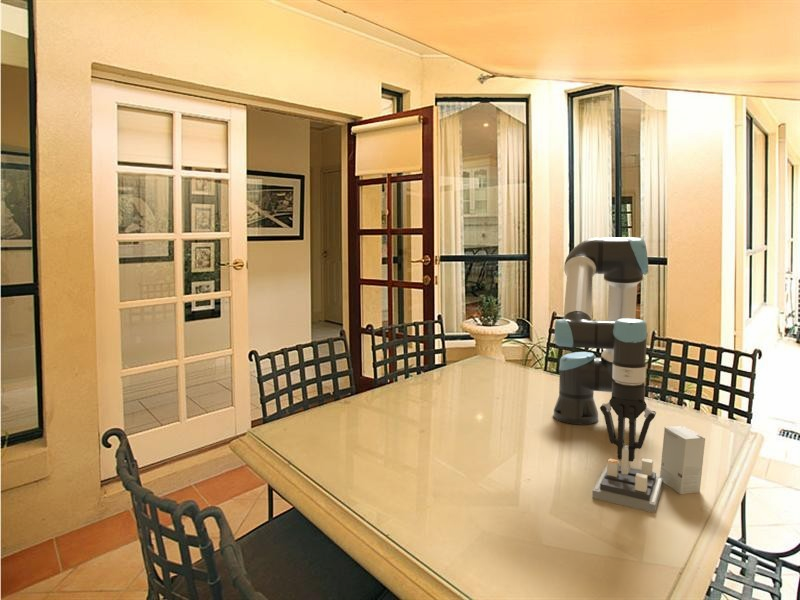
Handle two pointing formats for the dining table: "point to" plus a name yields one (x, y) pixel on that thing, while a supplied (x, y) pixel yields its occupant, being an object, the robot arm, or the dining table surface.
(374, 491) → the dining table surface
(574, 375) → the robot arm
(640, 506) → the panel
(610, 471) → the breaker mid
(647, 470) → the block
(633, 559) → the dining table surface
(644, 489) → the block
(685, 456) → the skincare box
